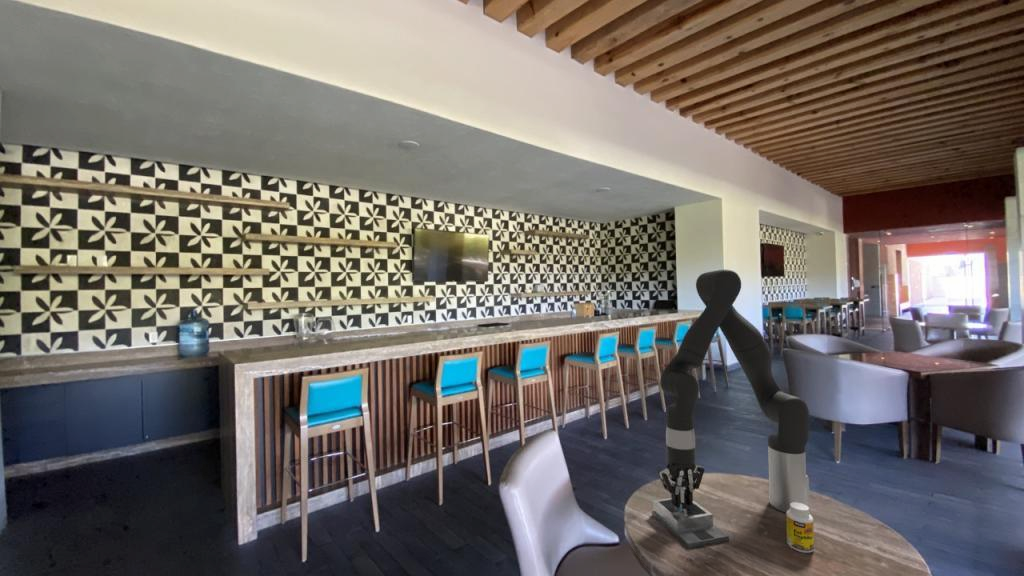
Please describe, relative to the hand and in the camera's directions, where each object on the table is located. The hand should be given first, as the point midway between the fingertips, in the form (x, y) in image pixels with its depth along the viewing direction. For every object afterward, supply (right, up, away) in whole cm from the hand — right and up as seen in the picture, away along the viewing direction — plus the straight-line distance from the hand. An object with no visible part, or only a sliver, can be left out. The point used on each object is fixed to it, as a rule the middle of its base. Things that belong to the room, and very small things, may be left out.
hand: (682, 504), depth 114 cm
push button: (0, -2, 0) cm, 2 cm away
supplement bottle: (+25, -4, -12) cm, 28 cm away
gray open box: (+1, -5, -2) cm, 5 cm away
